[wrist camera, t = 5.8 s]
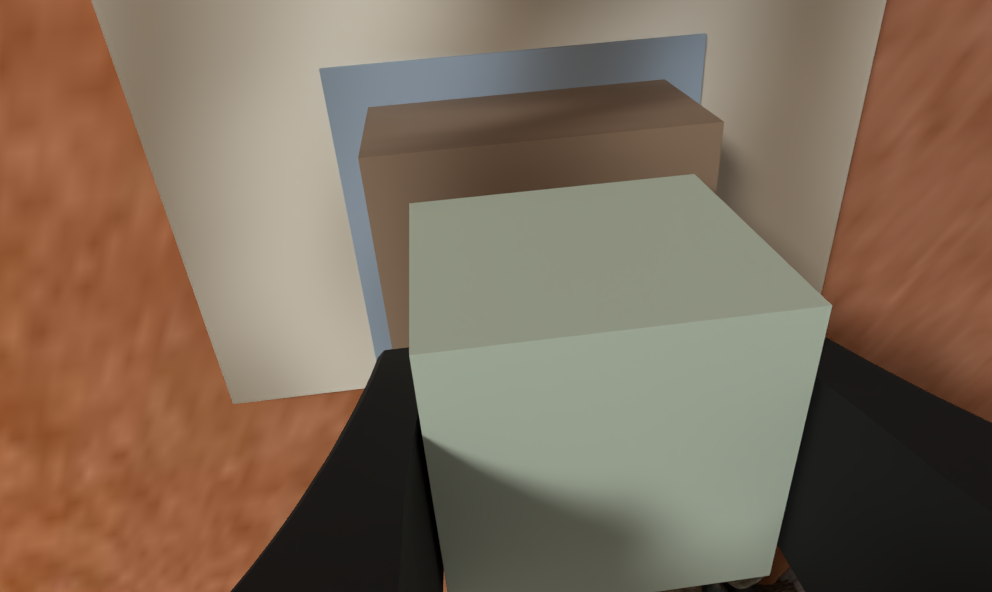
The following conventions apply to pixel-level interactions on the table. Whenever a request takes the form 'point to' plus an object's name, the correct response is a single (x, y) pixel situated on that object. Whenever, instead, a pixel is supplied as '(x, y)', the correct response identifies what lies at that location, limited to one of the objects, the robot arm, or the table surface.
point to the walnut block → (520, 156)
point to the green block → (607, 386)
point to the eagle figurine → (749, 585)
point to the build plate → (433, 77)
